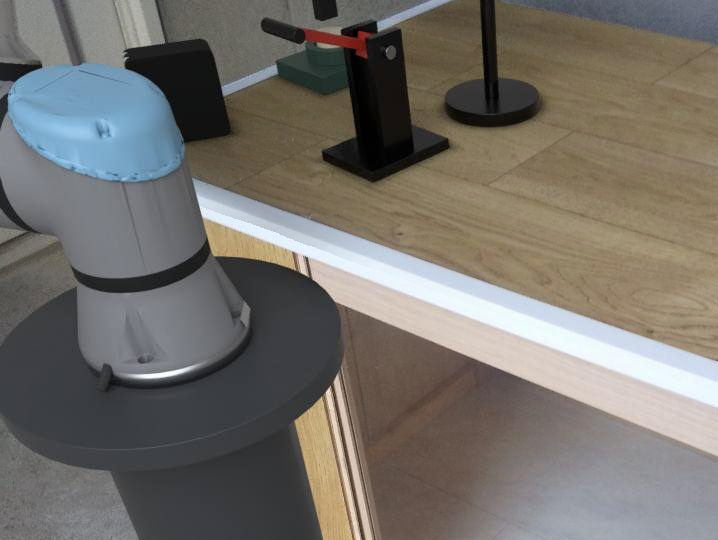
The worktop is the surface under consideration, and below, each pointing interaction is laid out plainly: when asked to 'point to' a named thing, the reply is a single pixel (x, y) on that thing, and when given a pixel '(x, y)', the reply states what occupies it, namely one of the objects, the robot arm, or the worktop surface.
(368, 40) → the stand
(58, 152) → the robot arm
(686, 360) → the worktop surface
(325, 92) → the timer box
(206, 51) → the electronic device
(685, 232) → the worktop surface
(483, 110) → the desk lamp
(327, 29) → the timer button
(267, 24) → the switch lever
